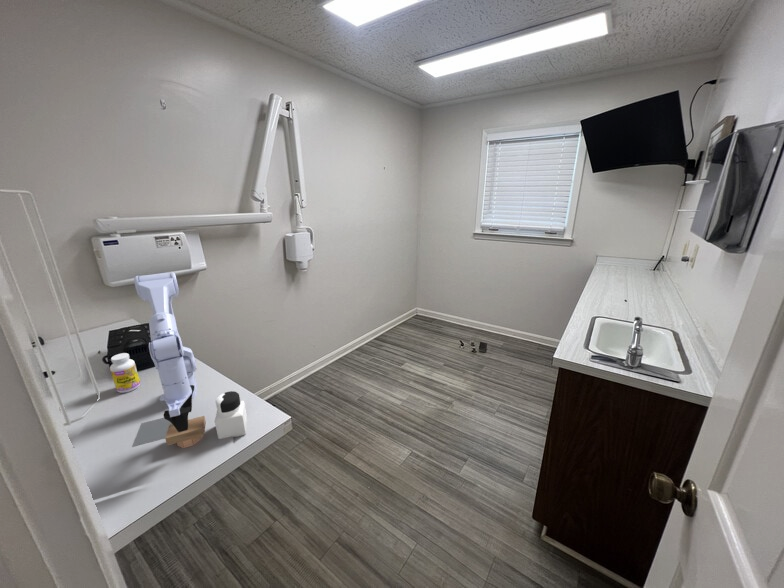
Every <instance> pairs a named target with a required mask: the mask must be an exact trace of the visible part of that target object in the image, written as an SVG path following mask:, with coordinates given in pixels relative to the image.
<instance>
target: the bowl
mask: <svg viewBox="0 0 784 588" xmlns="http://www.w3.org/2000/svg"><path fill="white" fill-rule="evenodd" d="M201 440H202V436H200V437H197V438H193V439H190V440H186V441H182V442H179V443H176V444H177V446H178V447H180V448H182V449H185V448H188V447H192V446H194V445H196V444H197V443H198V442H199V441H201Z"/></svg>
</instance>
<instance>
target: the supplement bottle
mask: <svg viewBox="0 0 784 588" xmlns="http://www.w3.org/2000/svg"><path fill="white" fill-rule="evenodd" d="M110 360H111V363H112V364H111V365H110V367H109V369H110V370H109V371H110V373H111V377H112V379H113V383H114V386H115V388H116V389H115V390H116V392H118V393H120V394H121V393H122V394H125V393H130V392H133V391H135V390H136V389H138V388H139V387H140V385H141V379H140V376H139V373H138V370H137V365H136V363H135V360H133V359H131V358H130V354H129V353H127V352H122V353H118V354H115V355H113V356H112V357H111V358H110Z"/></svg>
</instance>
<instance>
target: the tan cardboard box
mask: <svg viewBox="0 0 784 588" xmlns="http://www.w3.org/2000/svg"><path fill="white" fill-rule="evenodd" d="M206 424H207V421H206V417H205V415H202V416H198V417H197V416H196V417H195V418H188V430H186V431H182V432H178V431H177V430H176V428H175V427H174V425H173V424H170V425H169V427H168V431H167V434H166V438H164V440H165V442H166V446H172V445H175V444H177V443H179V442H182V441H186V440H190V439H193V438H197V437H200V436H201V437H203V436H205V433H206V432H205V431H206Z"/></svg>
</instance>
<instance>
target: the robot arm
mask: <svg viewBox="0 0 784 588" xmlns="http://www.w3.org/2000/svg"><path fill="white" fill-rule="evenodd" d="M133 282H134V286H135V287H134V288H135V290H136V294H137V296H138V297H139V298H140V299H141V300H143V302H149V304H150V307H151V311H152V314H153V315H151V317H150V318H149V320H148V324H149V334H150V341H151V342H149V343H148V349H149V354H150V358H151V360H152V362H153V363H154V367H155V369H156V370H157V373H158V376H159V379H160V383H161V387H162V390H163V394H161V395H160V396H159V401H161V402H163V401H164V402H165V403H166V405H167V407H168V410H164V412H163V414H162V415H163V418H165V419H166V420H168V421H170V422H171V423H172V424H173V425H174V427H175V428H176V430H177V431H178V432H182V431H186V430H188V420H189V413H192V408H193V399H194V398H196V397H197V396H198V388H197V387H198V384H197V380H196V375H195V372H196V371H197V364H196V360H195V355H194V353H193V350H192V349H191V348H190V347H186V346H183V342H182V338H181V336H180V333H179V331H178V327H177V326H178V325H177V321H176V316H175V314H174V309H173V305H172V303H173V299H175V298H176V297H178V296H179V293H180V291H179V290H180V289H179V285H178V280H177V276H176V273H175V272H173V271H170V272H164V273H161V272H160V273H153V274H147V275H146V274H145V275H136V276H135V277H134V278H133Z"/></svg>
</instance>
